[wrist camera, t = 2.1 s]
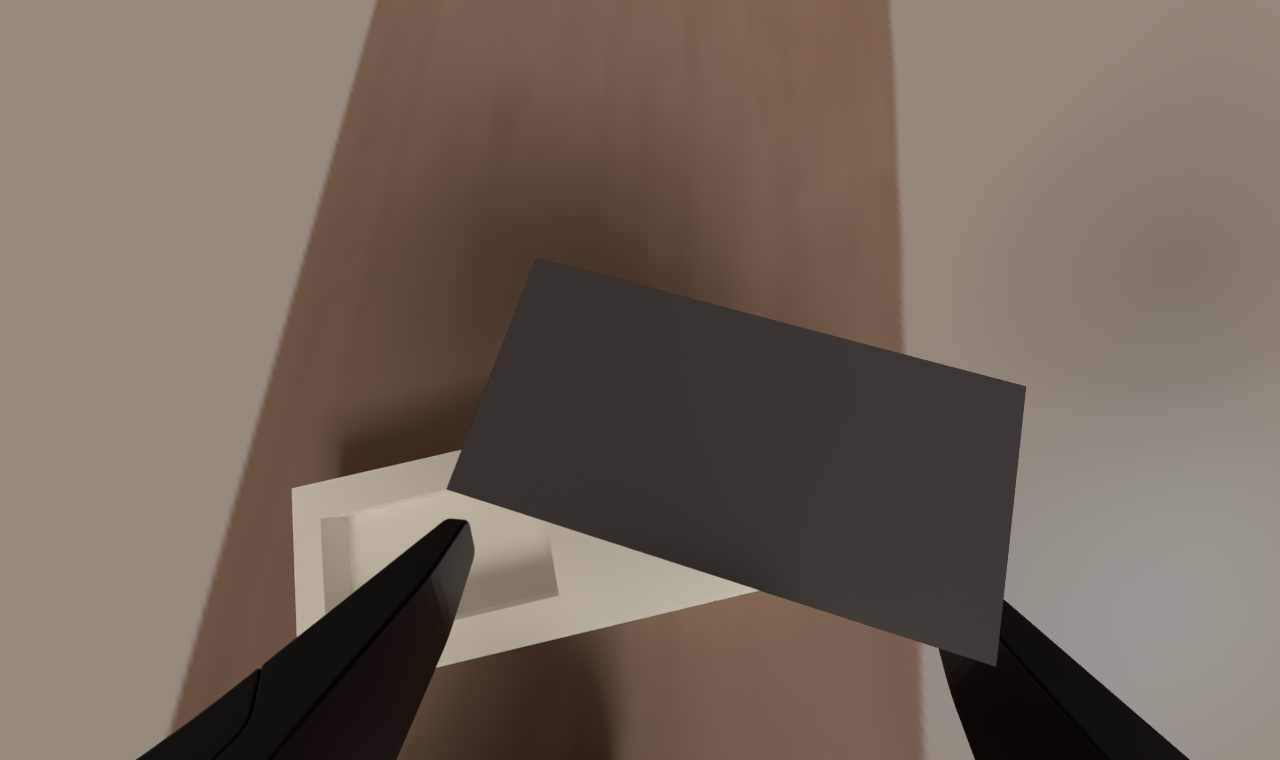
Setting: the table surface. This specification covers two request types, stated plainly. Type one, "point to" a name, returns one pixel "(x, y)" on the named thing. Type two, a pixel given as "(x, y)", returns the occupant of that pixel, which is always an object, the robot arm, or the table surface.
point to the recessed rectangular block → (480, 561)
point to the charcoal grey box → (755, 454)
